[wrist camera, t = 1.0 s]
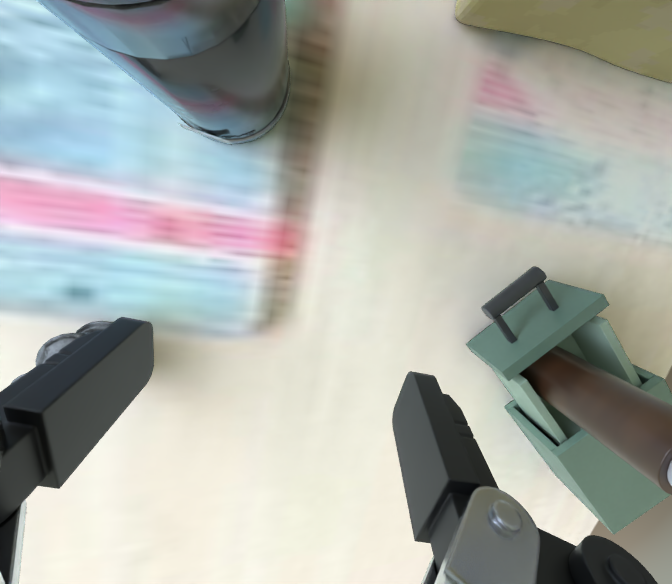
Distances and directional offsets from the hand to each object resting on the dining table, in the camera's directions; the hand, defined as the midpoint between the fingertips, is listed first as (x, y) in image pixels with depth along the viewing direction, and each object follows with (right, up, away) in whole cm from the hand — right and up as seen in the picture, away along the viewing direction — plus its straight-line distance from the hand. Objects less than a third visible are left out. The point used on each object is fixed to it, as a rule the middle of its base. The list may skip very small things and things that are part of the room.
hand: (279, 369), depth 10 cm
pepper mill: (+21, -4, +22) cm, 31 cm away
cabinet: (+29, -12, +26) cm, 41 cm away
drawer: (+21, -2, +22) cm, 31 cm away
